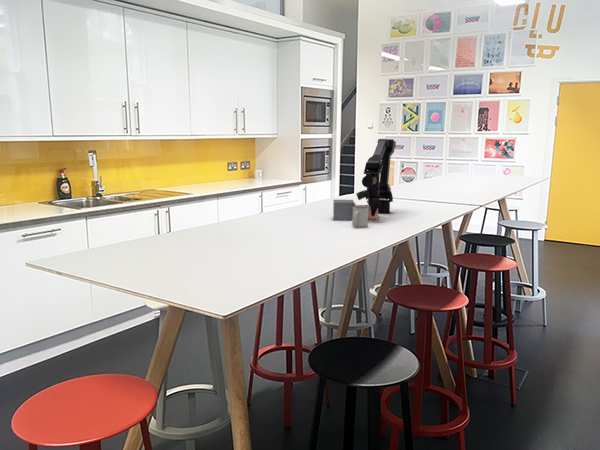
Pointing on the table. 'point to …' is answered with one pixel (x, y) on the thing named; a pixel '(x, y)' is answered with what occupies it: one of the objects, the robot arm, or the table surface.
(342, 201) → the dark grey block
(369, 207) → the pink ridged slab
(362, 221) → the cup
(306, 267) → the table surface
